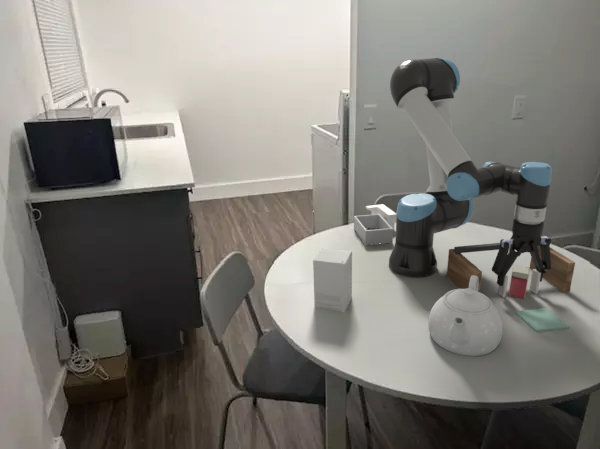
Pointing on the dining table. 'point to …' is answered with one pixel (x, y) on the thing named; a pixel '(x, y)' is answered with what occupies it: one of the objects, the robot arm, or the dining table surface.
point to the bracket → (383, 213)
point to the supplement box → (333, 279)
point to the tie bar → (479, 248)
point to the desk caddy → (373, 236)
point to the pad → (542, 319)
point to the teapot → (466, 321)
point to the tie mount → (557, 275)
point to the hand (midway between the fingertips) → (517, 293)
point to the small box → (519, 281)
